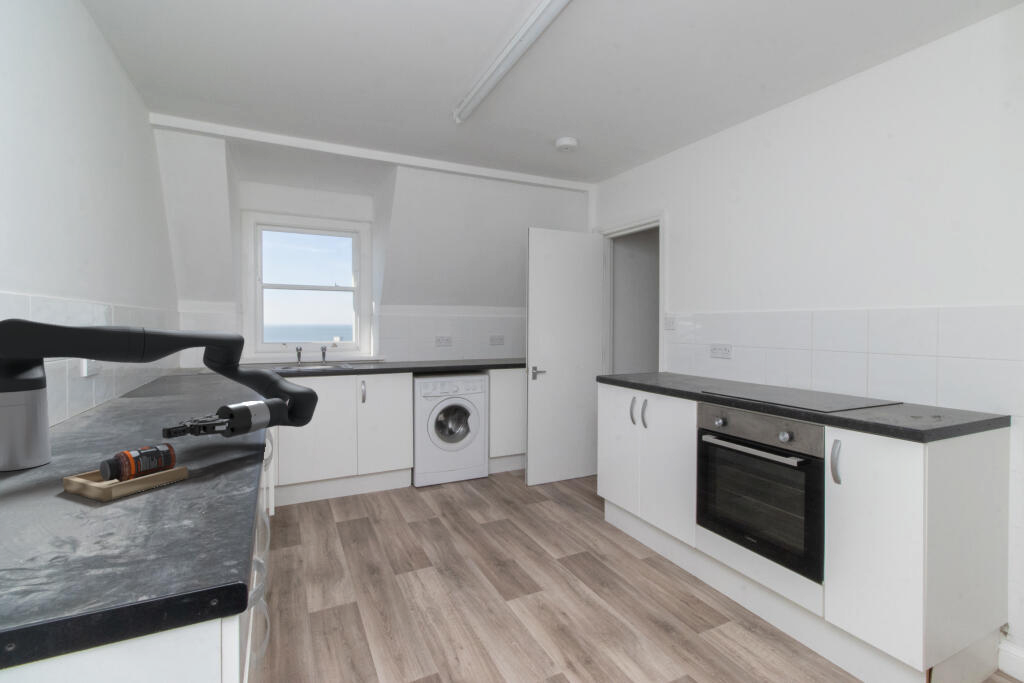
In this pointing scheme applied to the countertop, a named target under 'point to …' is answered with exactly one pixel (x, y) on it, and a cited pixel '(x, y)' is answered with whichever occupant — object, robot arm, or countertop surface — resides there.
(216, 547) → the countertop surface
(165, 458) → the supplement bottle
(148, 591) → the countertop surface
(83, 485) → the beech tray
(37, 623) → the countertop surface
